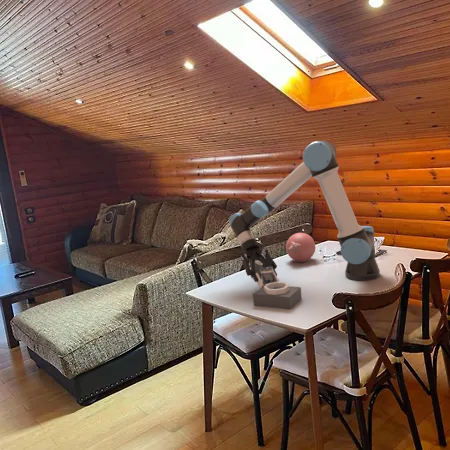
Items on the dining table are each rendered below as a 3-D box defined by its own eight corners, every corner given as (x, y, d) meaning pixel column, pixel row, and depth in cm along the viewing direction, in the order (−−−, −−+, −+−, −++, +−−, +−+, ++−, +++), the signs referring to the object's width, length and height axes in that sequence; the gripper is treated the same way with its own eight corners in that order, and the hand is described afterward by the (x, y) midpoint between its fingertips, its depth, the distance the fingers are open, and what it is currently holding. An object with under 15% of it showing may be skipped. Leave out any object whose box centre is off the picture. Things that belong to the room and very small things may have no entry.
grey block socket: (301, 298, 184) (300, 282, 182) (290, 309, 174) (288, 292, 172) (266, 295, 192) (265, 279, 191) (253, 305, 182) (252, 289, 181)
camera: (249, 275, 219) (256, 256, 216) (252, 264, 235) (258, 247, 232) (267, 281, 219) (274, 263, 216) (269, 270, 234) (275, 253, 231)
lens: (277, 289, 197) (274, 265, 195) (272, 294, 193) (269, 269, 191) (266, 288, 200) (263, 265, 198) (261, 293, 196) (258, 269, 194)
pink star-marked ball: (276, 265, 235) (274, 237, 232) (297, 256, 249) (294, 229, 247) (302, 268, 225) (299, 239, 222) (321, 258, 239) (319, 230, 237)
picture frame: (336, 255, 244) (370, 260, 228) (336, 252, 244) (370, 256, 228) (352, 248, 254) (387, 253, 239) (352, 245, 254) (386, 249, 238)
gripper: (264, 244, 212) (285, 284, 200) (226, 251, 202) (247, 294, 191) (269, 234, 206) (292, 276, 195) (231, 241, 197) (252, 285, 185)
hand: (269, 285), depth 193 cm, fingers open, 7 cm apart
